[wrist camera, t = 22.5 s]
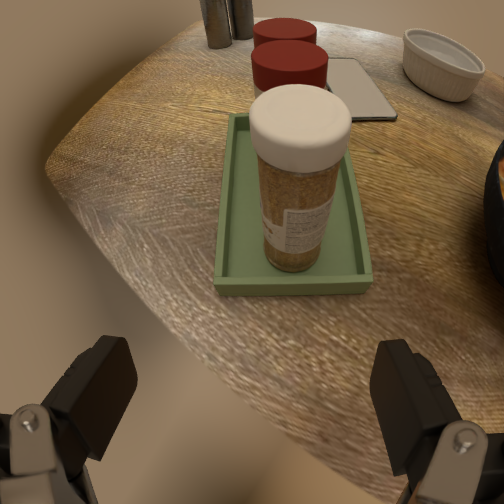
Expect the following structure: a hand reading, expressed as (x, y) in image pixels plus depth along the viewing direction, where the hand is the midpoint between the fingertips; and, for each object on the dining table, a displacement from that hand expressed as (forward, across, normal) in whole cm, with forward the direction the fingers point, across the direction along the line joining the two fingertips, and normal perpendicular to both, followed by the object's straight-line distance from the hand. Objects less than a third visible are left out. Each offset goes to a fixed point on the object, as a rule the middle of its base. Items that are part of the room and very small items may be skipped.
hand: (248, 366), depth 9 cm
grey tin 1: (+44, +7, -25) cm, 51 cm away
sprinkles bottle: (+16, -2, +2) cm, 16 cm away
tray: (+20, -2, -2) cm, 20 cm away
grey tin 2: (+46, +3, -28) cm, 54 cm away
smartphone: (+33, -12, -15) cm, 38 cm away
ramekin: (+36, -27, -18) cm, 49 cm away
